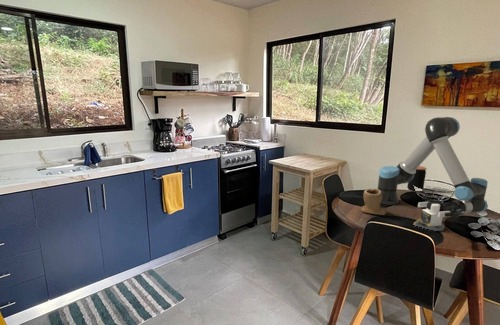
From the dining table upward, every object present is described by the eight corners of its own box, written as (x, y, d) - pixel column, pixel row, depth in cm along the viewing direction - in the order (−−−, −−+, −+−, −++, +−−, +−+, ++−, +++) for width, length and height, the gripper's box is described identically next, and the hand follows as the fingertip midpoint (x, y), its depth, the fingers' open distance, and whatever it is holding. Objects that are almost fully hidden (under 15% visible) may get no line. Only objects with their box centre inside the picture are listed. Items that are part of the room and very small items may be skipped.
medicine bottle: (419, 221, 161) (423, 200, 159) (431, 220, 162) (434, 200, 160) (429, 226, 155) (432, 205, 152) (441, 226, 155) (445, 205, 153)
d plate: (447, 226, 158) (447, 223, 158) (440, 233, 150) (440, 231, 149) (421, 219, 168) (421, 216, 167) (413, 225, 159) (413, 222, 159)
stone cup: (359, 214, 174) (361, 190, 170) (361, 207, 184) (364, 185, 180) (386, 219, 167) (390, 194, 163) (387, 212, 177) (390, 189, 174)
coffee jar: (425, 192, 214) (428, 169, 210) (409, 191, 216) (413, 168, 212) (419, 188, 224) (423, 165, 220) (405, 187, 227) (408, 165, 222)
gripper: (480, 222, 149) (447, 225, 145) (440, 204, 173) (410, 207, 168) (483, 209, 148) (449, 212, 143) (442, 193, 171) (412, 195, 167)
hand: (428, 209), depth 156 cm, fingers open, 13 cm apart
